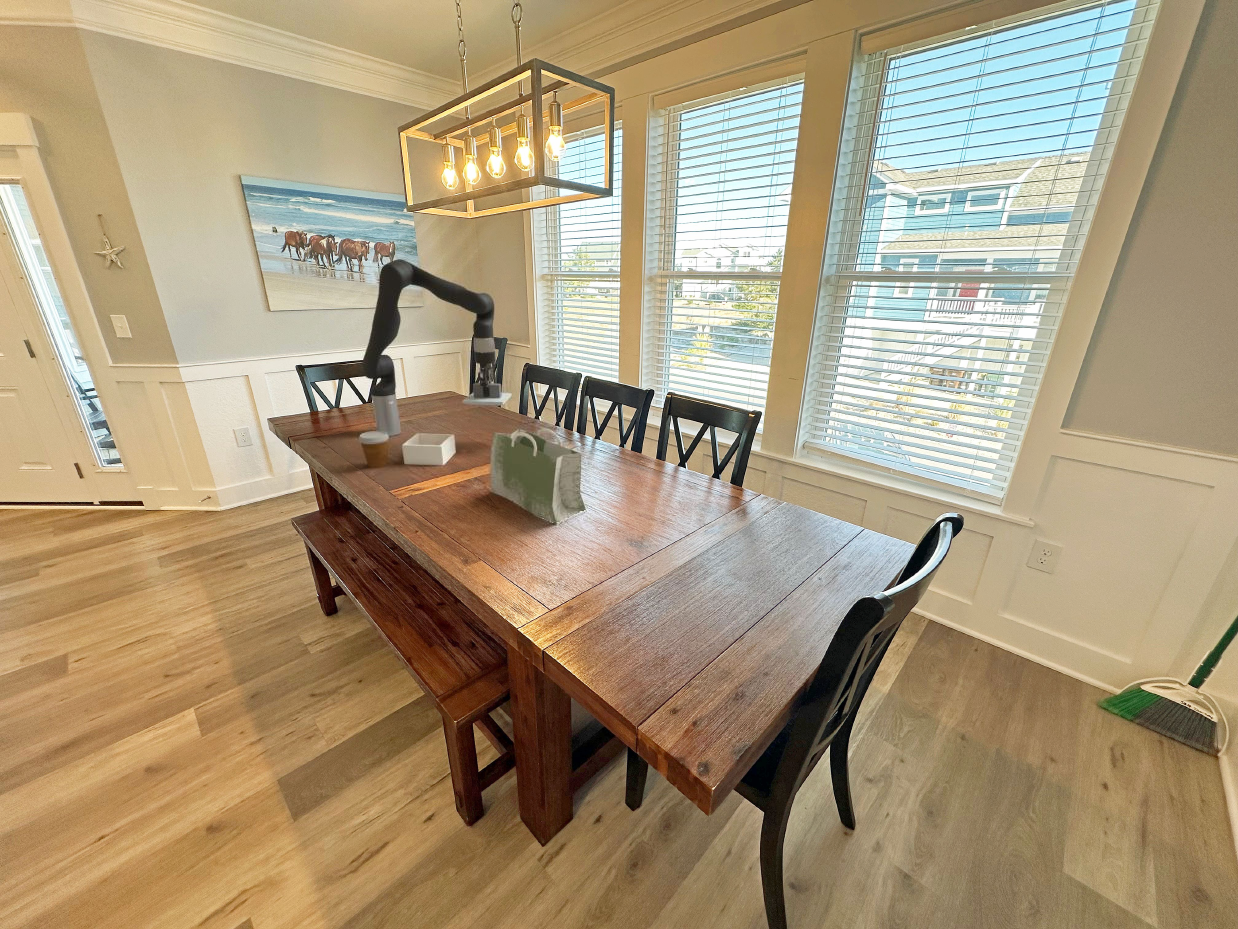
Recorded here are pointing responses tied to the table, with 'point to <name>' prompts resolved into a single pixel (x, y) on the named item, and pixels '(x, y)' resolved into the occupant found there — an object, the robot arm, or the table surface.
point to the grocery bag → (537, 474)
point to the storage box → (429, 449)
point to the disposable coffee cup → (375, 448)
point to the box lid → (493, 399)
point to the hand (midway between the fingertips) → (487, 395)
